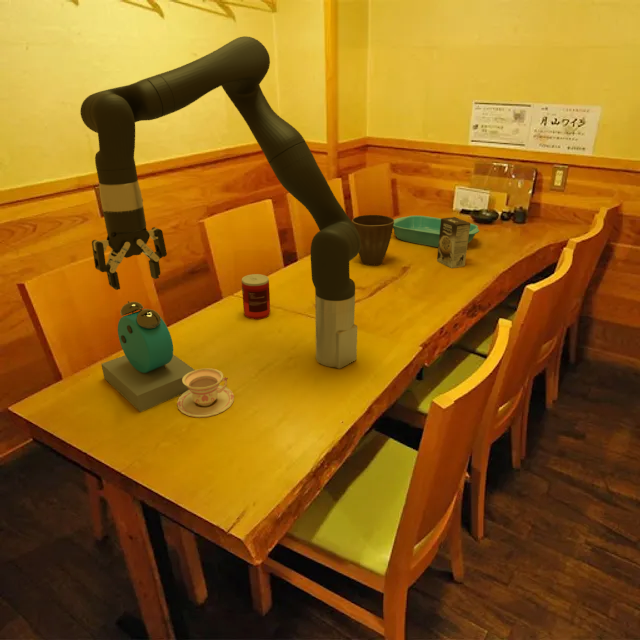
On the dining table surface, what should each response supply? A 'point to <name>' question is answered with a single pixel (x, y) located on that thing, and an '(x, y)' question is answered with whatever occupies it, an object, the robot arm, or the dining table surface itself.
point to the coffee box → (453, 242)
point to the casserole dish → (423, 230)
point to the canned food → (256, 296)
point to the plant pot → (373, 237)
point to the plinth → (146, 381)
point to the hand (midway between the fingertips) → (136, 283)
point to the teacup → (205, 393)
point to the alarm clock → (144, 338)
